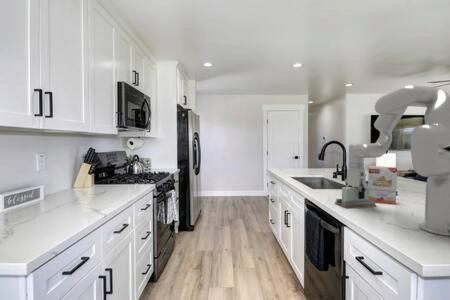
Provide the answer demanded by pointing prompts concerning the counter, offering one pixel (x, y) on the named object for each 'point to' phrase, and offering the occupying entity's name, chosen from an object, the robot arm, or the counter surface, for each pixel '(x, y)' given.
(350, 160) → the robot arm
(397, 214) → the counter surface
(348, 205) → the door track
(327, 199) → the counter surface
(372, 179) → the cracker box
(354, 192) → the pale green block
